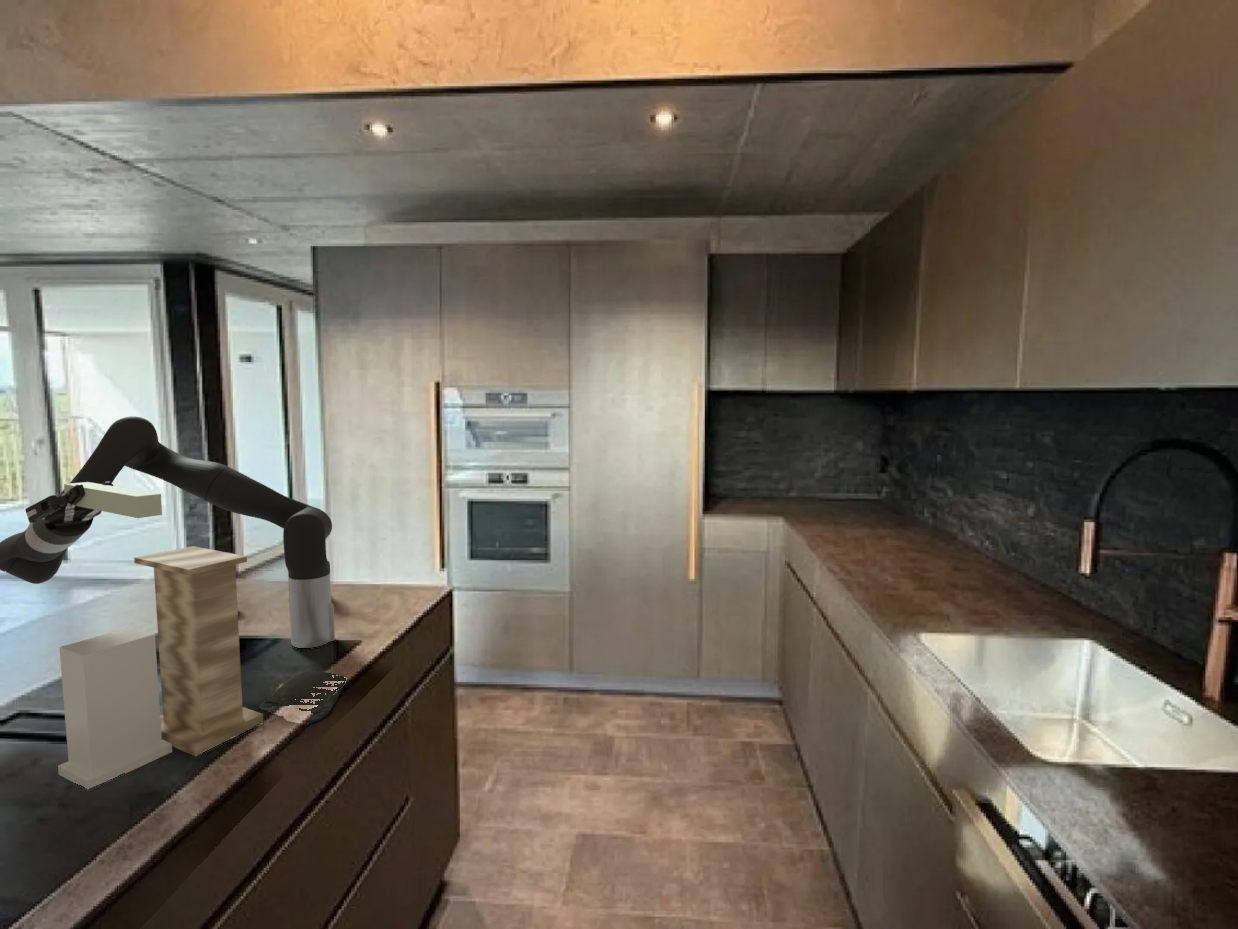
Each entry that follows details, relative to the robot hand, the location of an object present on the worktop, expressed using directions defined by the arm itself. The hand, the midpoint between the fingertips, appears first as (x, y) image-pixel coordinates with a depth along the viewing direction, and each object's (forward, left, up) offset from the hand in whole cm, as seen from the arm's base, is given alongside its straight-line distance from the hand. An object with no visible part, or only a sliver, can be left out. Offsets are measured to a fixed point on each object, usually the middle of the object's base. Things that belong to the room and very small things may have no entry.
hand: (95, 487), depth 109 cm
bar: (-2, +5, -3) cm, 6 cm away
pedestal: (-1, +13, -44) cm, 46 cm away
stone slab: (-31, +7, -45) cm, 55 cm away
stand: (-13, +8, -44) cm, 47 cm away
